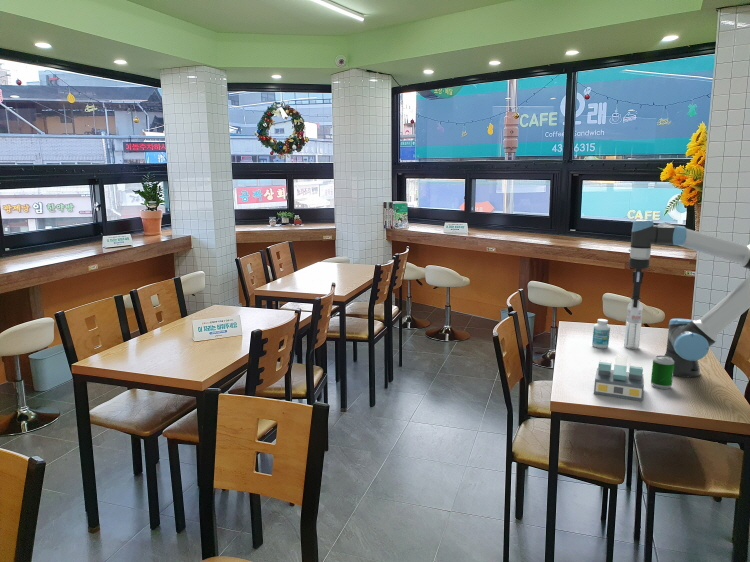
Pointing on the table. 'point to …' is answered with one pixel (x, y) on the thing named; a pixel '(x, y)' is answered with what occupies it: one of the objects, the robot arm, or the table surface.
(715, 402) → the table surface
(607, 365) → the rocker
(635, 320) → the water bottle
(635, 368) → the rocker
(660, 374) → the soda can
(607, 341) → the pill bottle
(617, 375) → the rocker
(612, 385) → the switch unit
